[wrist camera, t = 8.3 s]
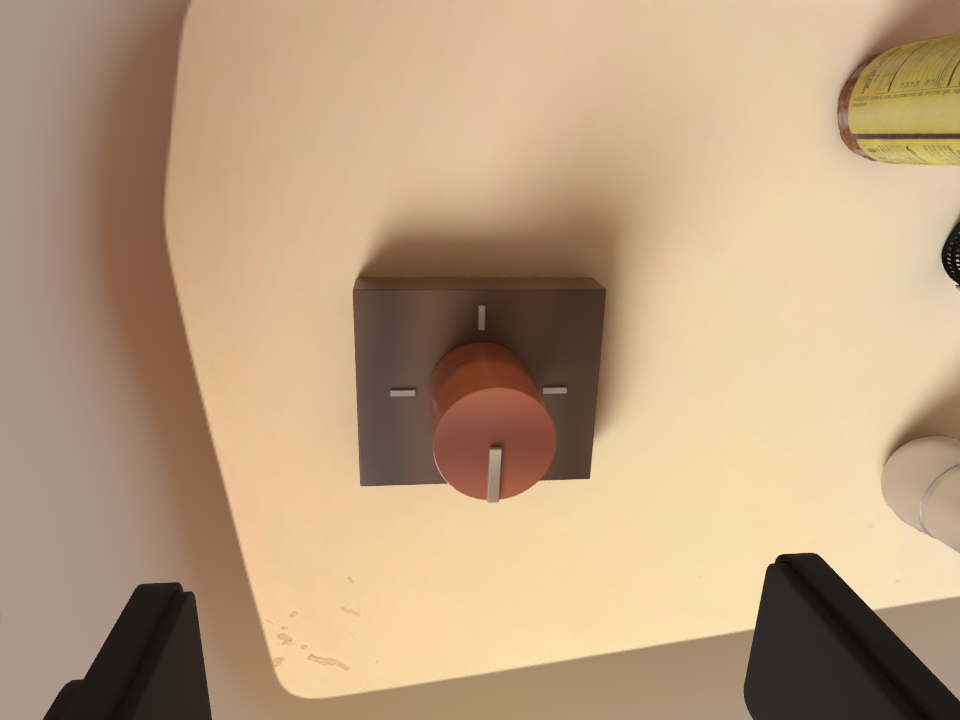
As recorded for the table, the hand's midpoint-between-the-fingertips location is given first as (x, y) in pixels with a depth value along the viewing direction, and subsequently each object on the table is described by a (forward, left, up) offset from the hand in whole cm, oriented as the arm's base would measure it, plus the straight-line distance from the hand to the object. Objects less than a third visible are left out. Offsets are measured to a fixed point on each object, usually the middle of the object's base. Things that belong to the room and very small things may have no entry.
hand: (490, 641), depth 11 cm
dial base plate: (+4, -6, -30) cm, 31 cm away
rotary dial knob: (+4, -6, -27) cm, 28 cm away
